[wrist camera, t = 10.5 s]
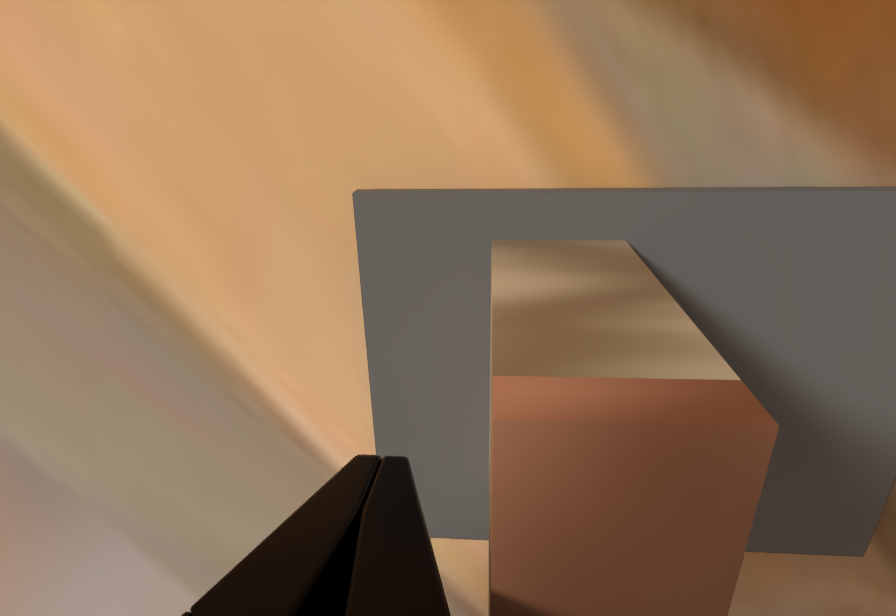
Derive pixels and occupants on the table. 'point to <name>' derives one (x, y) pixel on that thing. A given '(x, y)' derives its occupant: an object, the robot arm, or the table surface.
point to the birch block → (612, 441)
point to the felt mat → (699, 295)
